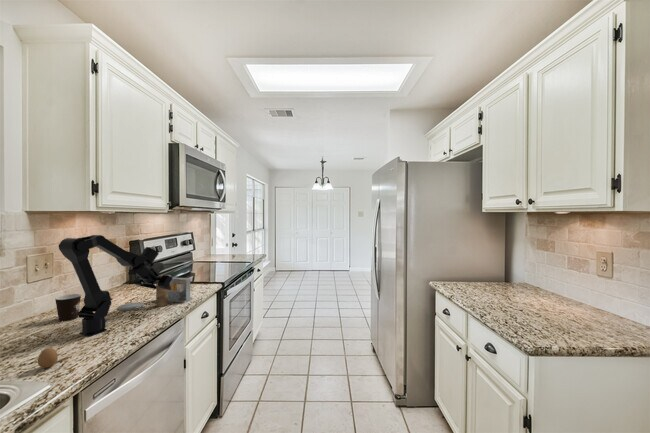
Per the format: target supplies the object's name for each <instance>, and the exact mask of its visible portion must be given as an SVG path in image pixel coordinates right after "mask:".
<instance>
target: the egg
mask: <svg viewBox="0 0 650 433" xmlns="http://www.w3.org/2000/svg"><path fill="white" fill-rule="evenodd" d="M58 357H59V355H58V352H57V350H56V349H55V348H52V347H46V348H44V349H43V350H42V351H41V352H40V354H39V356H38V359H37V365H38V366H39V367H40V368H42V369H48V368H51V367H52V366H54V365H55V364H56V362H57V361H58Z"/></svg>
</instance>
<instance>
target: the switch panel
mask: <svg viewBox="0 0 650 433" xmlns="http://www.w3.org/2000/svg"><path fill="white" fill-rule="evenodd" d="M172 277H173V279H172V280H171V282H170V286H171V290H168V302H171V303H183V304H186V303H188V302H190V301H192V300H193V297H191V278H187V277H176V276H175V277H174V276H172Z"/></svg>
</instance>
